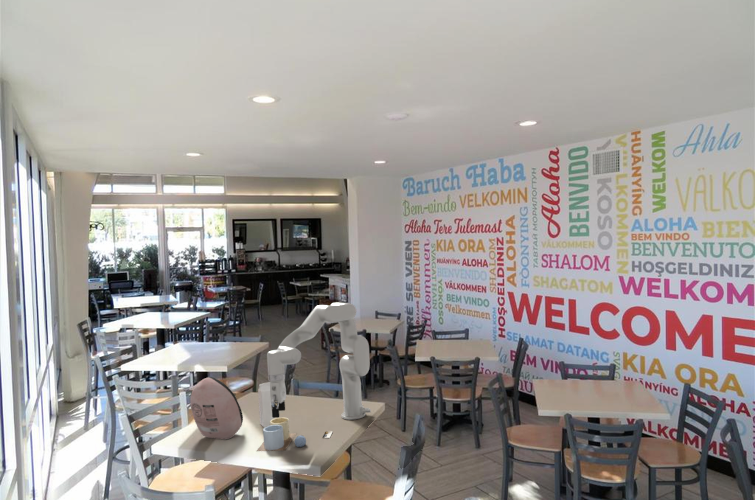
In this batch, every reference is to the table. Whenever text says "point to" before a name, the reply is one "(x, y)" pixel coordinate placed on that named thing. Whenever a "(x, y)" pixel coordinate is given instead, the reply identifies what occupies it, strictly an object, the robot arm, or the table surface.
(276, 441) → the tube blue
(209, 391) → the packaged food
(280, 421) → the tube
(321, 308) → the robot arm
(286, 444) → the tube board
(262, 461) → the table surface
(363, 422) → the table surface
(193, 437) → the table surface
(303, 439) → the ball blue
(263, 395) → the milk
